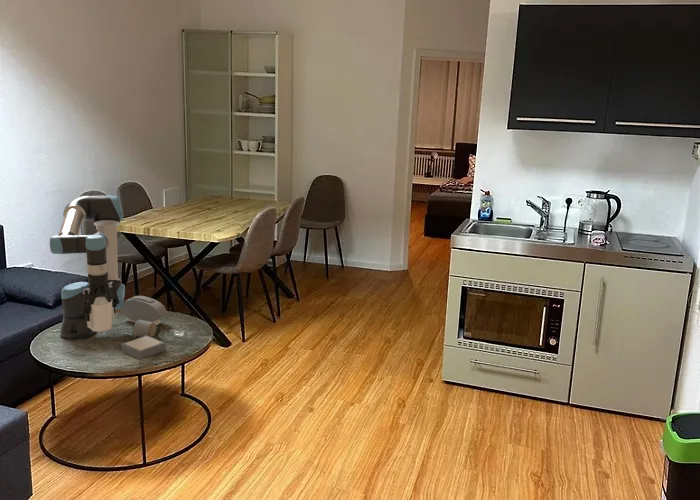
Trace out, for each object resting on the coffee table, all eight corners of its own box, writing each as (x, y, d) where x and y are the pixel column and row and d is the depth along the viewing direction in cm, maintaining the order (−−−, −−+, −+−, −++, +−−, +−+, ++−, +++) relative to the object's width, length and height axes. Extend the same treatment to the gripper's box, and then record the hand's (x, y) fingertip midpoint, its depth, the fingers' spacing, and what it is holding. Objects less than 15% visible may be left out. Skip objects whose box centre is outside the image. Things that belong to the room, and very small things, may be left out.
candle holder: (96, 322, 264) (94, 296, 261) (118, 324, 263) (116, 297, 260) (84, 331, 254) (82, 304, 251) (107, 333, 253) (105, 305, 250)
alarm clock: (167, 323, 301) (166, 298, 298) (159, 327, 295) (158, 302, 292) (128, 316, 309) (127, 291, 306) (120, 320, 303) (118, 295, 300)
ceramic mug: (150, 340, 280) (149, 324, 279) (133, 338, 281) (132, 322, 280) (160, 332, 291) (160, 316, 289) (144, 330, 292) (143, 315, 290)
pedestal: (121, 351, 268) (121, 343, 267) (147, 342, 278) (146, 335, 277) (140, 359, 260) (139, 351, 260) (165, 350, 271) (165, 342, 270)
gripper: (77, 281, 241) (81, 334, 247) (126, 269, 259) (129, 319, 265) (67, 277, 246) (71, 329, 252) (116, 265, 263) (119, 314, 269)
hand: (101, 324), depth 258 cm, fingers closed on candle holder, 9 cm apart
